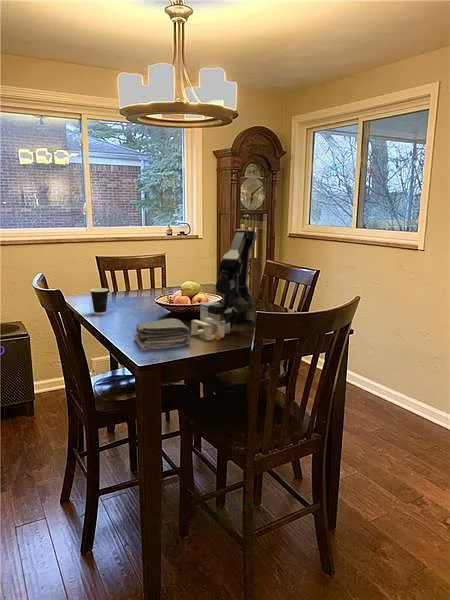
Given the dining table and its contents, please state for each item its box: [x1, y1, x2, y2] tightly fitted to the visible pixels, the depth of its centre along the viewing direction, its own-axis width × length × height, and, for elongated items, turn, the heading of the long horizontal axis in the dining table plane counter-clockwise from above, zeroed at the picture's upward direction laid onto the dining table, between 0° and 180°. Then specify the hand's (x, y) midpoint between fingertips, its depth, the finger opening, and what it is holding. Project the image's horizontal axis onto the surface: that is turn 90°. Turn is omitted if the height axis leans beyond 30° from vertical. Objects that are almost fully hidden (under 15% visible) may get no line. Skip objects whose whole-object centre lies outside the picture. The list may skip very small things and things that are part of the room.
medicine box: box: [199, 301, 221, 322], centre depth 191 cm, size 8×4×9 cm, turn 141°
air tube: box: [202, 320, 231, 336], centre depth 176 cm, size 10×4×4 cm, turn 130°
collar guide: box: [190, 317, 225, 341], centre depth 172 cm, size 8×12×6 cm
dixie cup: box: [89, 287, 109, 316], centre depth 205 cm, size 8×8×11 cm
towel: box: [133, 318, 191, 350], centre depth 164 cm, size 15×18×8 cm
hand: (230, 328), depth 180 cm, fingers closed
